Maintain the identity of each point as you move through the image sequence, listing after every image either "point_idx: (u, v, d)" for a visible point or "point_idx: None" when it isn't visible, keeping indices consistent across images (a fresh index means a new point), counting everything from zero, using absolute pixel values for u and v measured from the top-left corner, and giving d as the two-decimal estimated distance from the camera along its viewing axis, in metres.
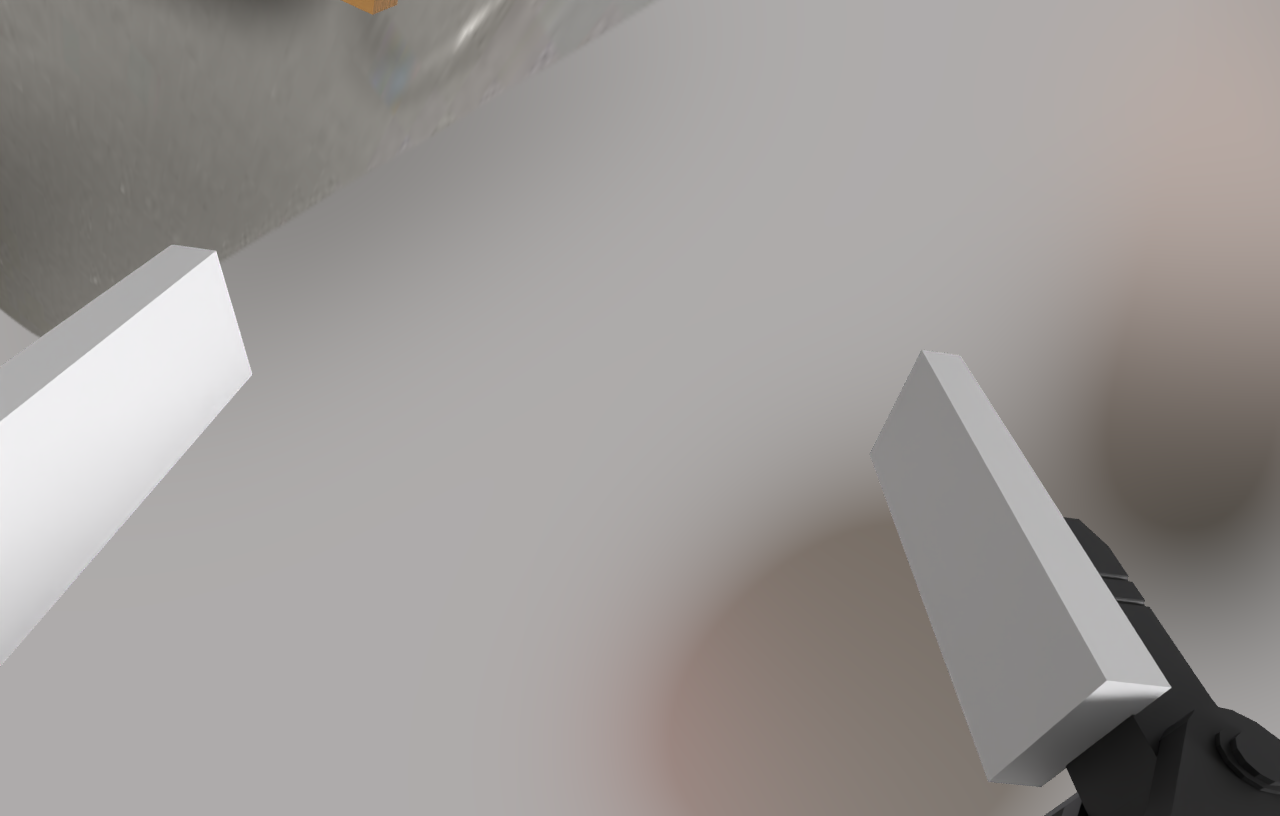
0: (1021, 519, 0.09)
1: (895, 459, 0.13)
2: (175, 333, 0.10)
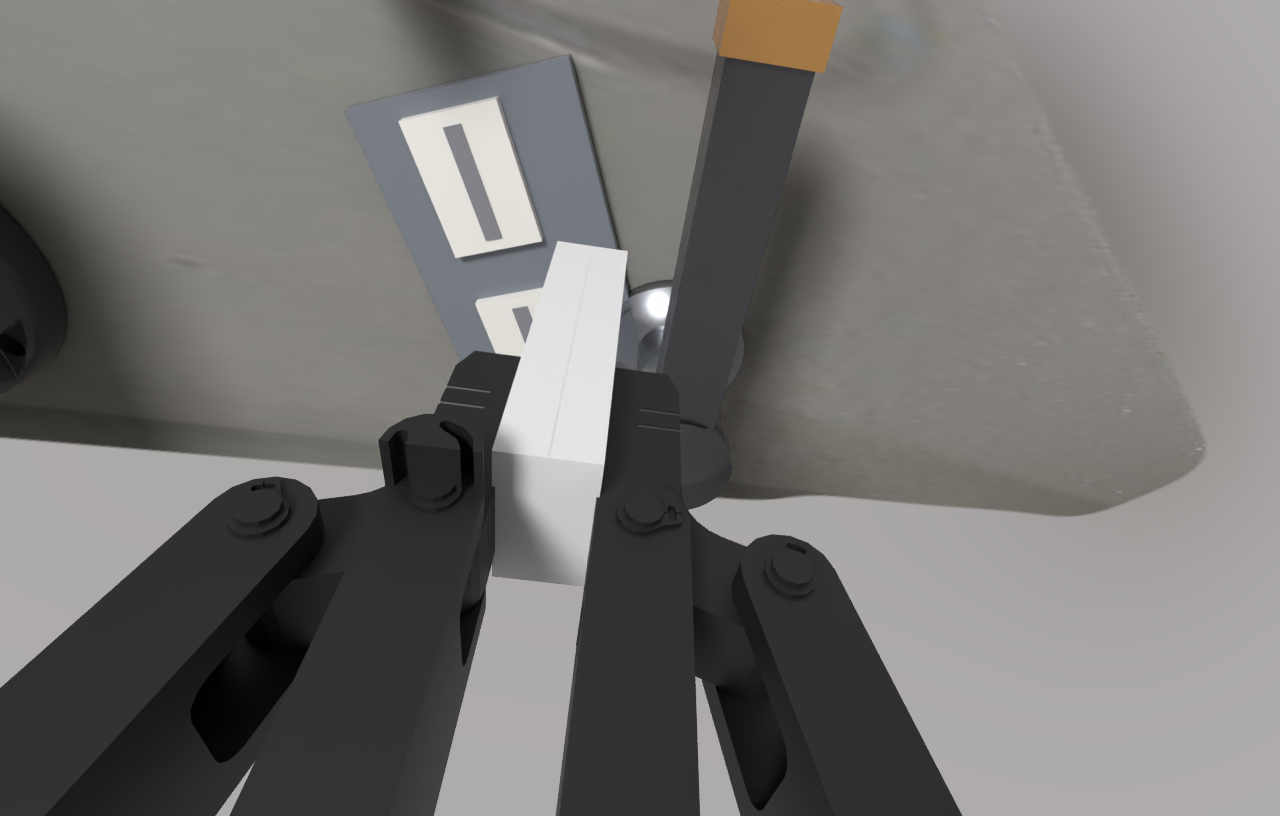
0: (574, 359, 0.10)
1: None
2: None
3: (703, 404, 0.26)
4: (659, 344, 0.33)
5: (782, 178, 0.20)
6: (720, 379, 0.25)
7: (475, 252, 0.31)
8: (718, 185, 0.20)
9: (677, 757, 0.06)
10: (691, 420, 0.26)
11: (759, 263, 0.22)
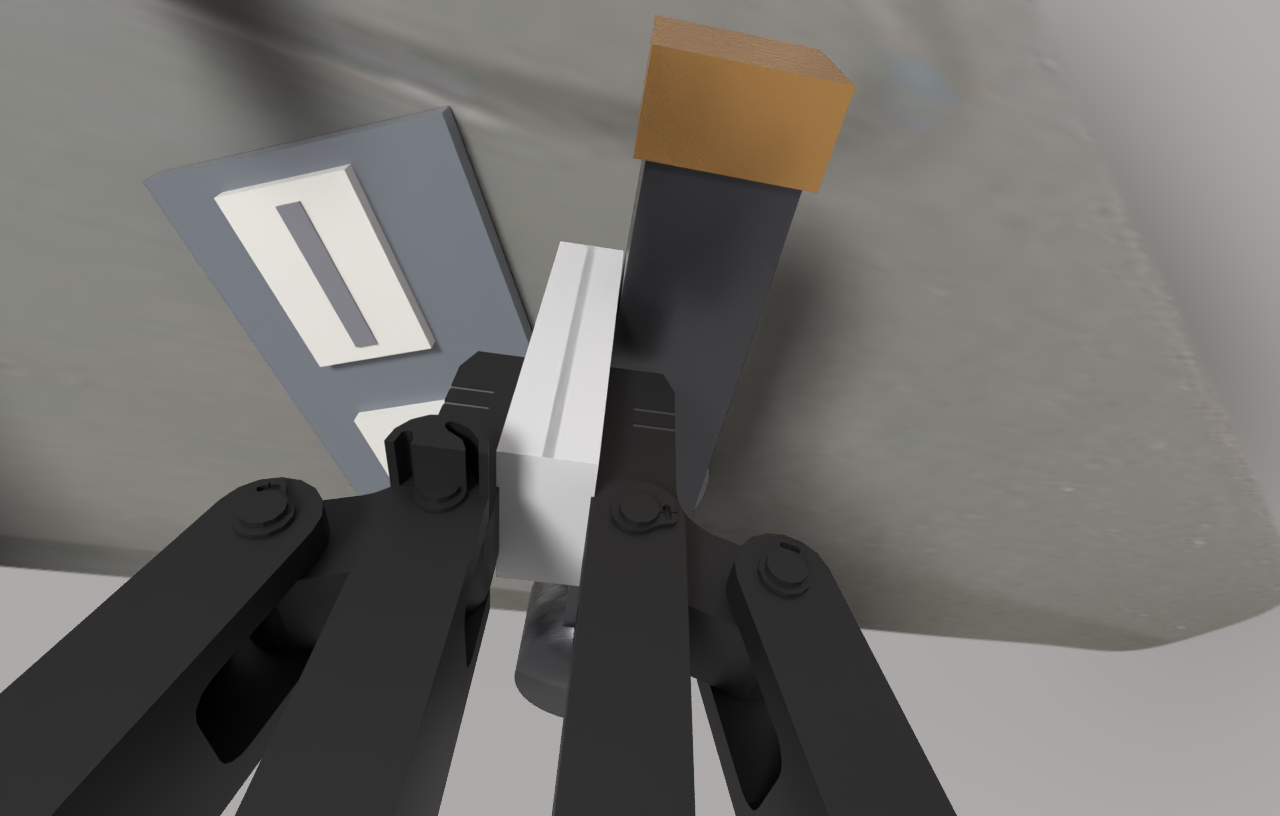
0: (569, 358, 0.10)
1: None
2: None
3: None
4: None
5: (746, 343, 0.12)
6: None
7: (345, 360, 0.23)
8: (642, 349, 0.13)
9: (672, 756, 0.06)
10: None
11: (712, 451, 0.14)
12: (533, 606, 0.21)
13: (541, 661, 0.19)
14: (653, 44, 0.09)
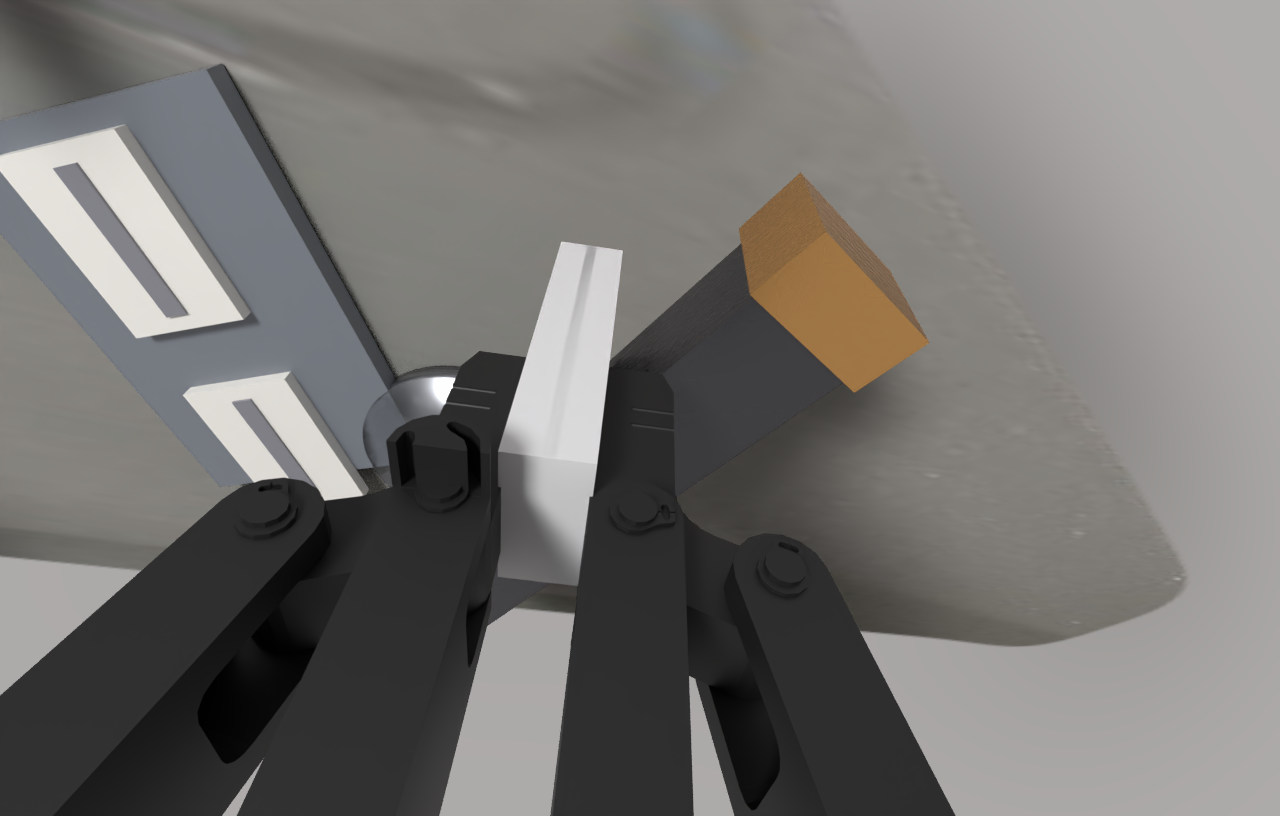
0: (568, 358, 0.10)
1: None
2: None
3: None
4: None
5: (723, 461, 0.14)
6: (502, 604, 0.18)
7: (160, 331, 0.23)
8: None
9: (670, 756, 0.06)
10: None
11: None
12: None
13: None
14: (825, 232, 0.10)
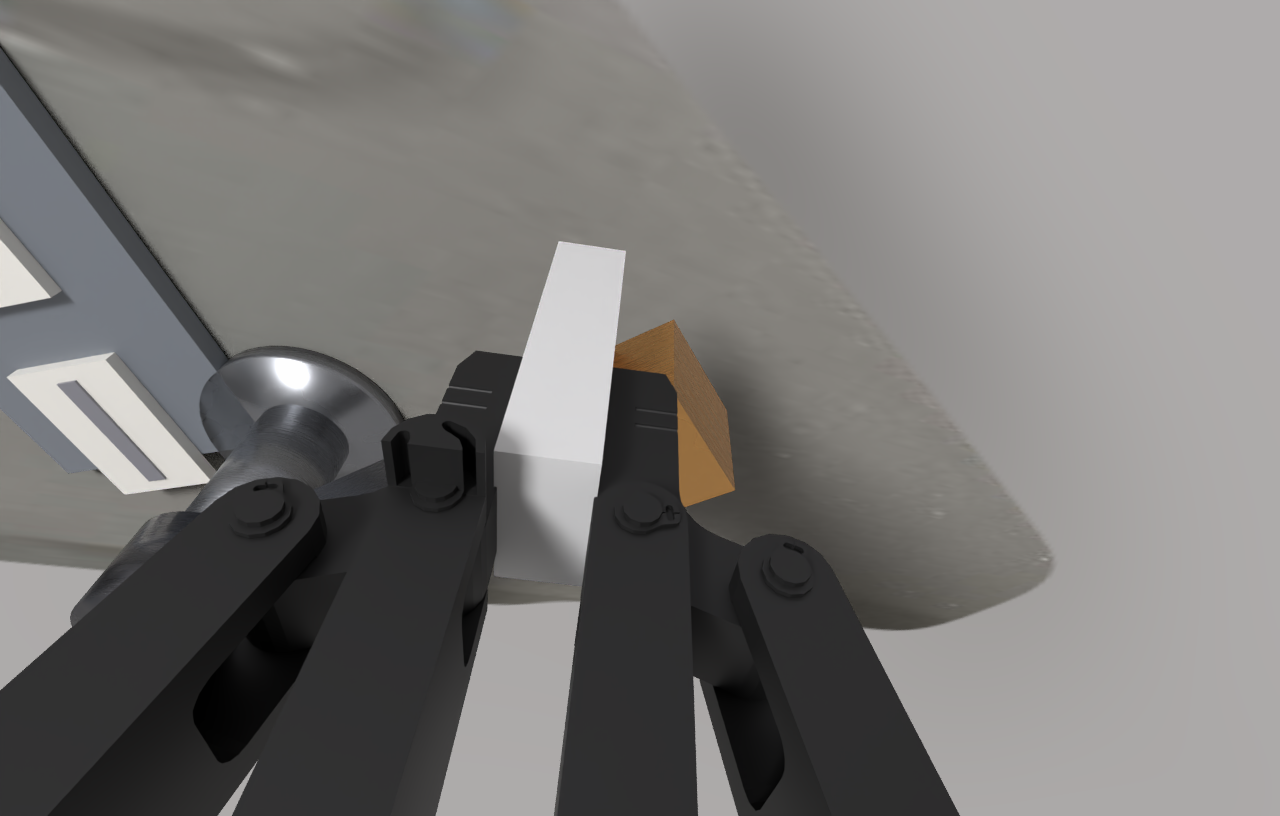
0: (572, 359, 0.10)
1: None
2: None
3: None
4: (251, 435, 0.24)
5: None
6: None
7: None
8: None
9: (675, 757, 0.06)
10: None
11: None
12: (156, 541, 0.19)
13: None
14: None
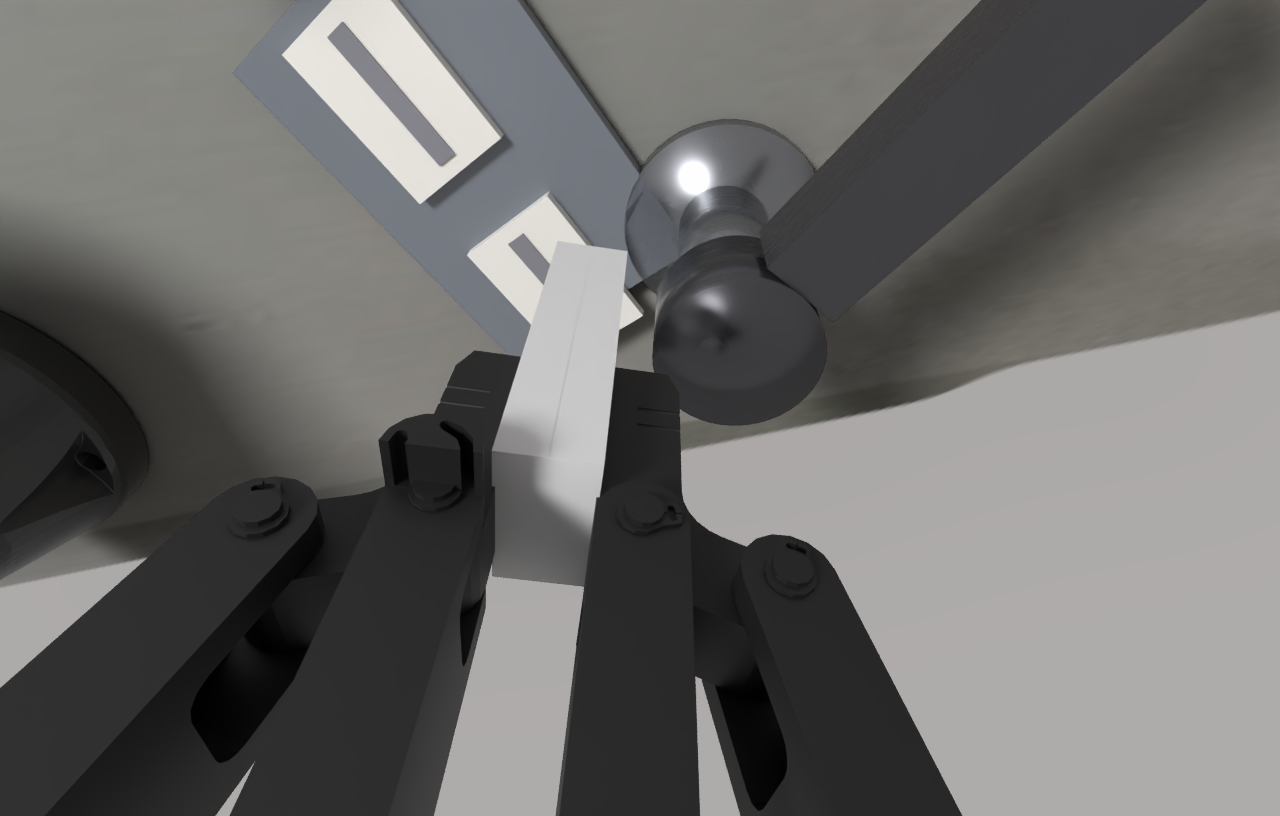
0: (574, 359, 0.10)
1: None
2: None
3: (848, 279, 0.17)
4: (695, 215, 0.24)
5: None
6: (898, 252, 0.17)
7: (436, 187, 0.25)
8: None
9: (677, 757, 0.06)
10: (814, 295, 0.18)
11: (1088, 98, 0.14)
12: (700, 261, 0.19)
13: (715, 302, 0.18)
14: None
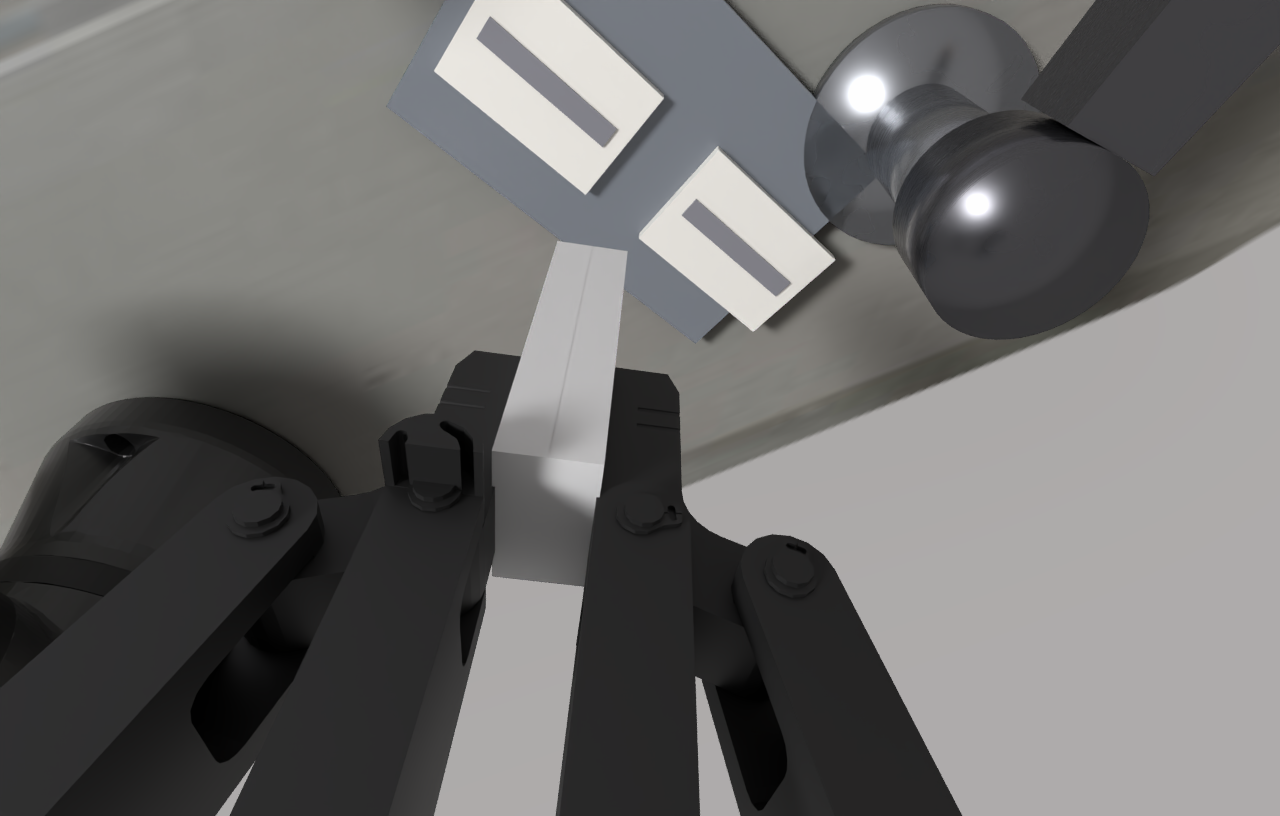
0: (574, 359, 0.10)
1: None
2: None
3: (1175, 114, 0.14)
4: (895, 123, 0.21)
5: None
6: (1247, 60, 0.13)
7: (601, 171, 0.23)
8: None
9: (676, 757, 0.06)
10: (1129, 147, 0.14)
11: None
12: (959, 150, 0.16)
13: (1004, 186, 0.15)
14: None
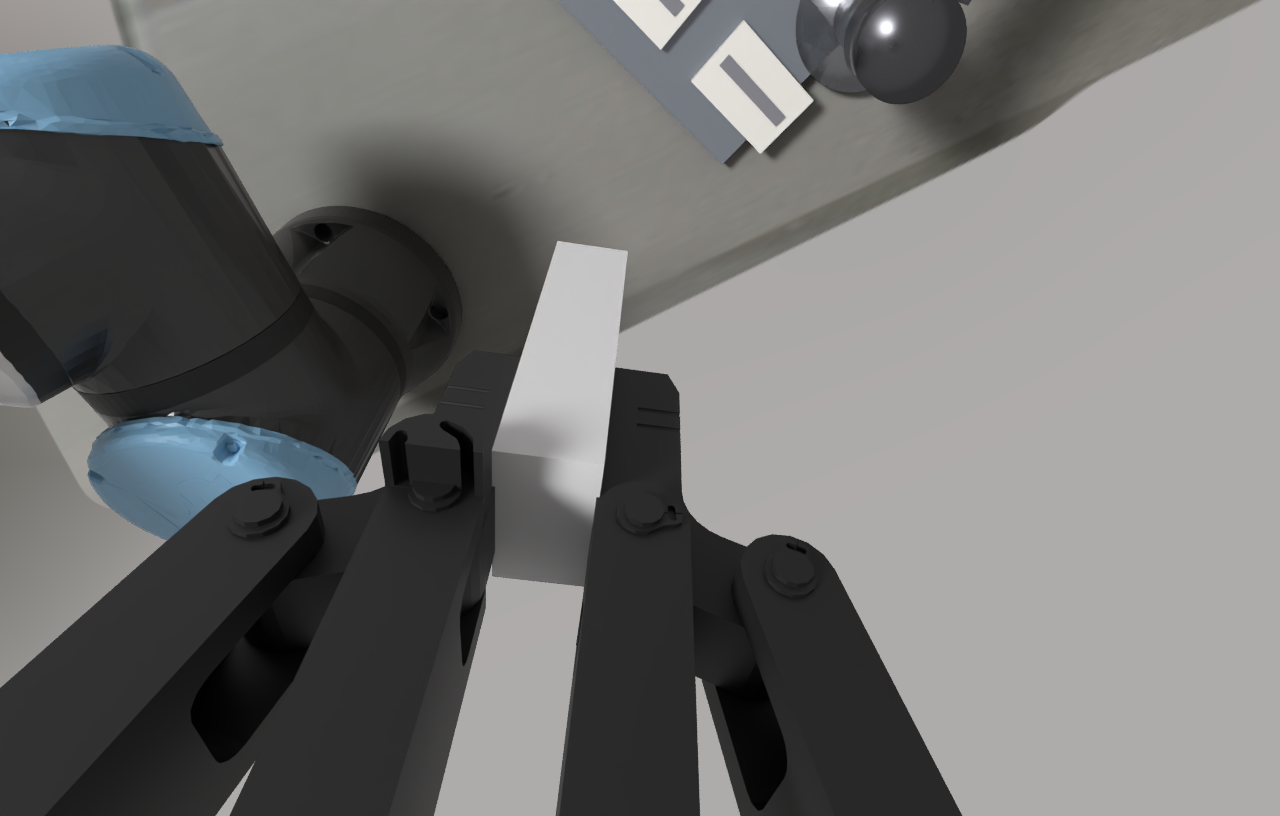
0: (574, 359, 0.10)
1: None
2: None
3: None
4: (849, 2, 0.36)
5: None
6: None
7: (671, 33, 0.38)
8: None
9: (677, 757, 0.06)
10: None
11: None
12: None
13: (894, 7, 0.30)
14: None
